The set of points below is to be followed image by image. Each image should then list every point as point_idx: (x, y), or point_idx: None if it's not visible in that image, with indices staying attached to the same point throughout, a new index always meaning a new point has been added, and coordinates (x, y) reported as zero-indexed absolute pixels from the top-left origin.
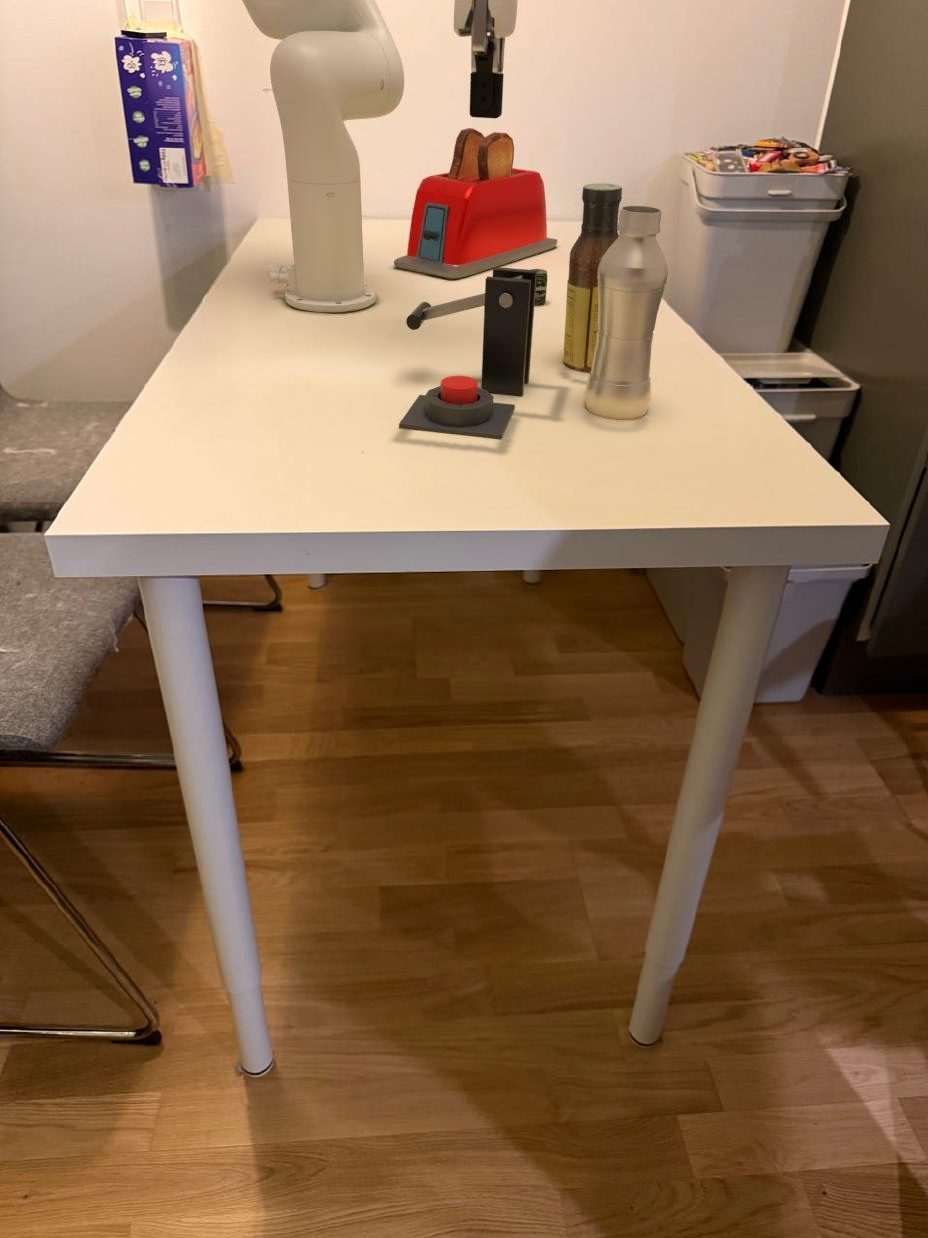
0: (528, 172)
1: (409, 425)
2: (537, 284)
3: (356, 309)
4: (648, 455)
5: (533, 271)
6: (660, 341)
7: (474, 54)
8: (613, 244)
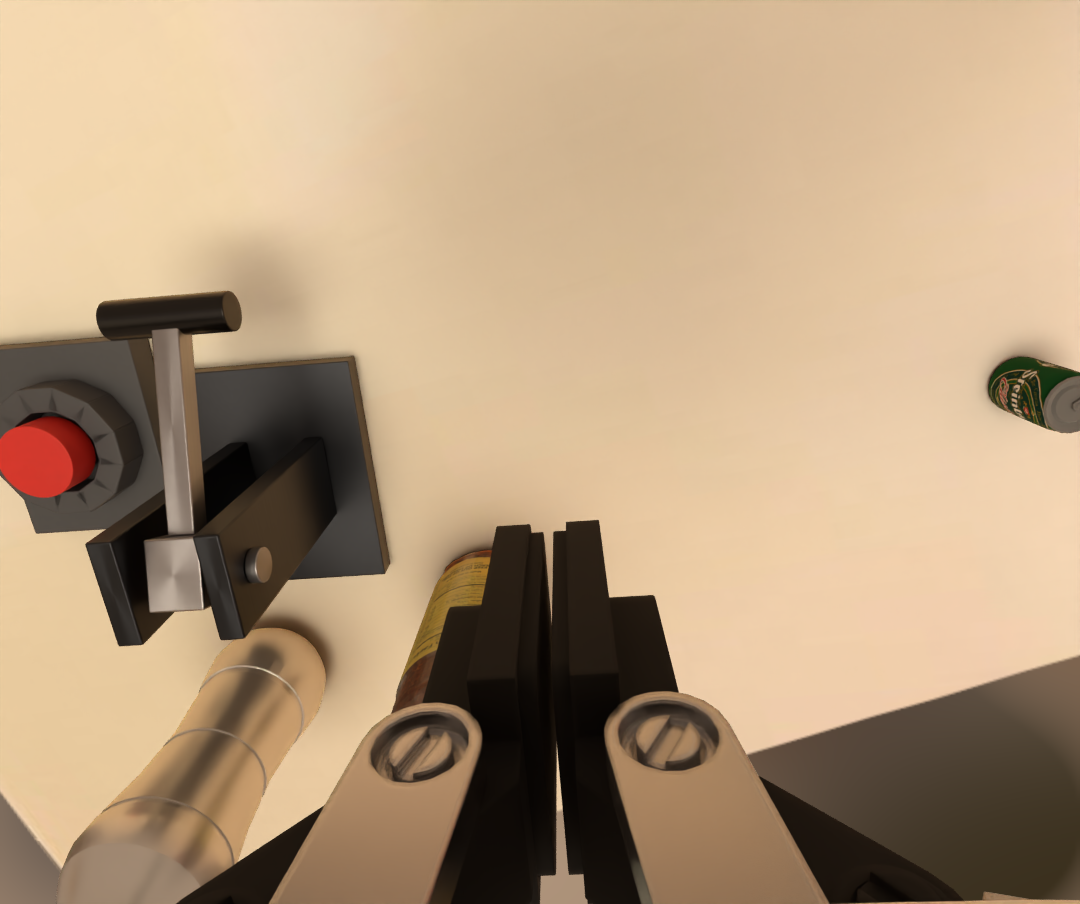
0: None
1: None
2: (1022, 404)
3: None
4: (171, 717)
5: (225, 634)
6: (753, 690)
7: (182, 900)
8: (83, 896)
